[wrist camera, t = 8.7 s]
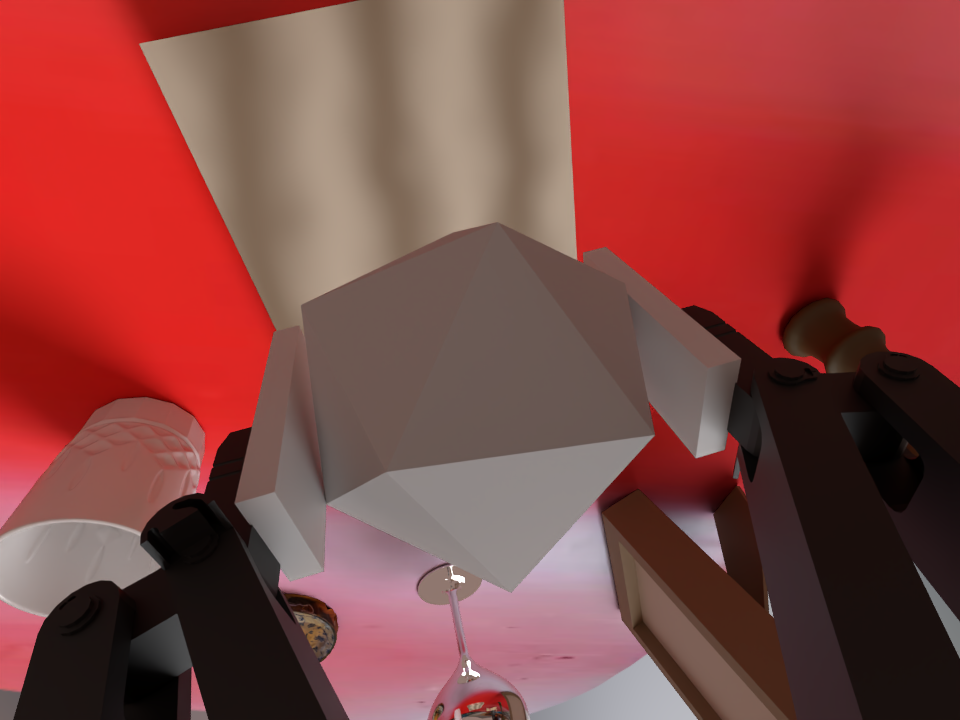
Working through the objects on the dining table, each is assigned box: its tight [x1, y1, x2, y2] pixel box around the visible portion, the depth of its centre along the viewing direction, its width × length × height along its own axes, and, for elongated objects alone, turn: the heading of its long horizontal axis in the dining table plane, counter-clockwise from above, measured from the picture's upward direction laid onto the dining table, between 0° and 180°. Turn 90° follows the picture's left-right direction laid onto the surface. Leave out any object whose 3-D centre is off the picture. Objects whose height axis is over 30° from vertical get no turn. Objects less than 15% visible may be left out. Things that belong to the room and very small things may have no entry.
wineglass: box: [418, 564, 530, 720], centre depth 41 cm, size 8×8×18 cm
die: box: [301, 222, 655, 593], centre depth 13 cm, size 8×9×10 cm
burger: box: [284, 594, 338, 662], centre depth 44 cm, size 12×12×8 cm
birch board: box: [139, 0, 577, 337], centre depth 27 cm, size 18×18×2 cm
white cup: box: [0, 397, 205, 617], centre depth 28 cm, size 8×8×10 cm
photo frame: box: [602, 486, 797, 720], centre depth 43 cm, size 15×22×25 cm
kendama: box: [782, 298, 919, 457], centre depth 32 cm, size 6×10×20 cm, turn 132°
